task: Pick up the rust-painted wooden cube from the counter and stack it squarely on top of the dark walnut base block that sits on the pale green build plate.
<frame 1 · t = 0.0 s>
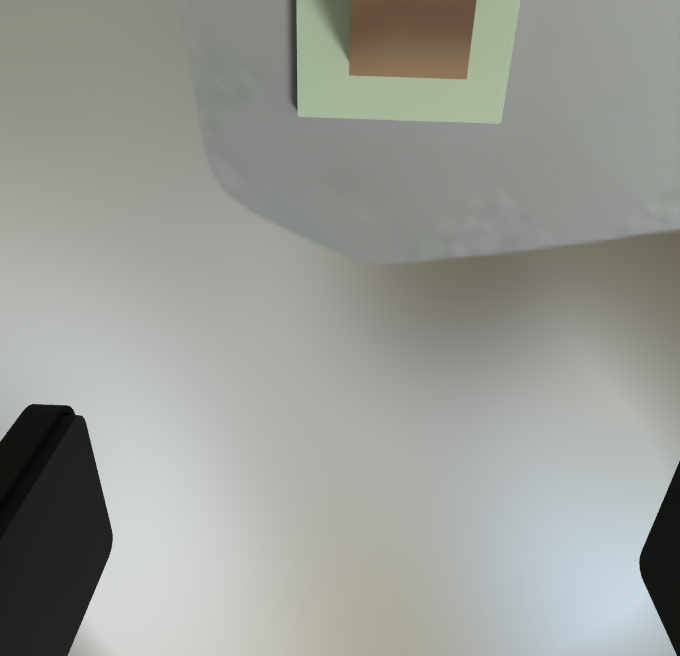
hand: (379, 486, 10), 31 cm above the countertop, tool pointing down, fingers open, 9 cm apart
build plate: (406, 4, 34), on the countertop
base block: (407, 5, 33), point 1 cm above the countertop, touching build plate
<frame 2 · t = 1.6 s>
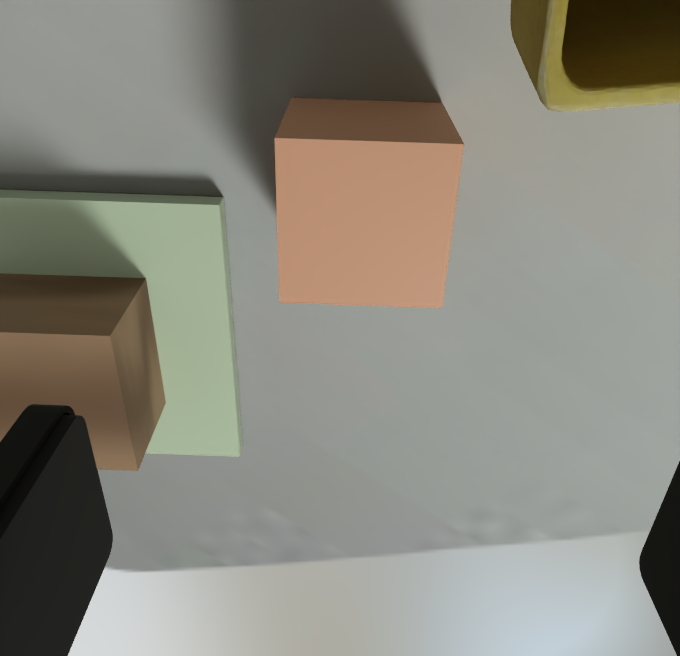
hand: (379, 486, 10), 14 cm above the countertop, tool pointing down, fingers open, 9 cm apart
cube: (363, 173, 22), on the countertop
build plate: (89, 331, 25), on the countertop
base block: (82, 341, 25), point 1 cm above the countertop, touching build plate
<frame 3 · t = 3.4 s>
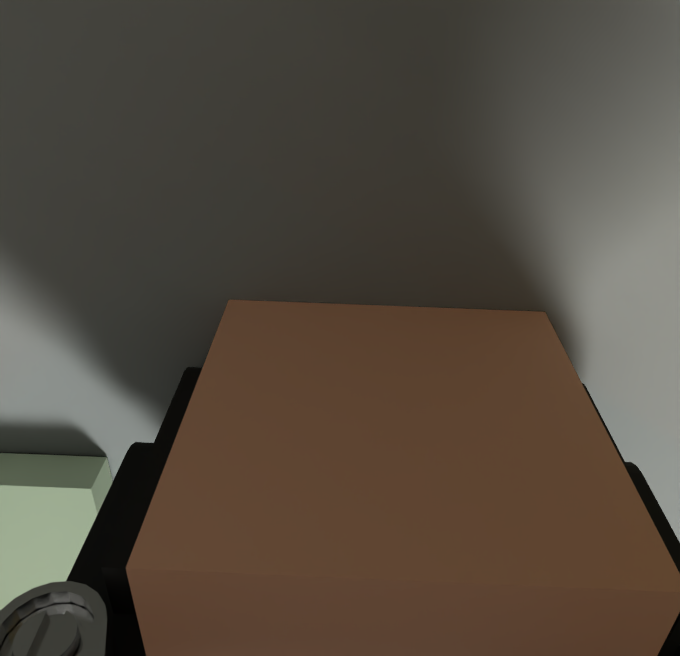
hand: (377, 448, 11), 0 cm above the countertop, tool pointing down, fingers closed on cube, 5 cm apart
cube: (377, 427, 11), on the countertop, touching gripper
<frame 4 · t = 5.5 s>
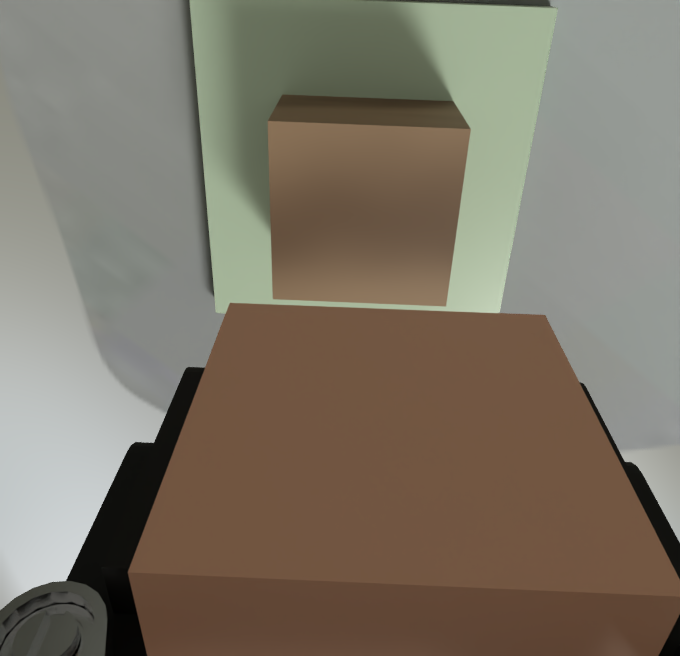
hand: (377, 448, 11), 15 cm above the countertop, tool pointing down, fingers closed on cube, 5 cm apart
cube: (377, 429, 11), point 15 cm above the countertop, touching gripper
build plate: (363, 174, 24), on the countertop
base block: (363, 181, 23), point 1 cm above the countertop, touching build plate
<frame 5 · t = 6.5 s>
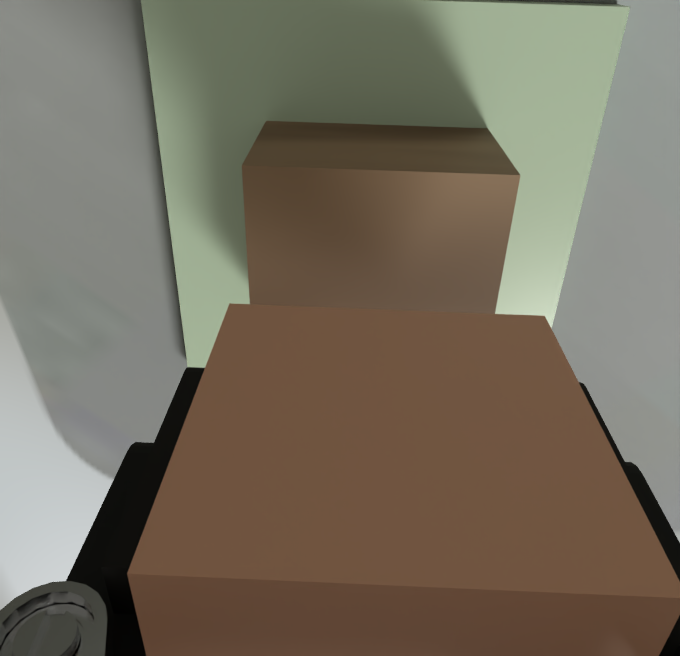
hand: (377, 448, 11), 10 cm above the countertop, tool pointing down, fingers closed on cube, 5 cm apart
cube: (377, 430, 11), point 9 cm above the countertop, touching gripper
build plate: (370, 218, 19), on the countertop
base block: (370, 228, 18), point 1 cm above the countertop, touching build plate
when the fingers open (7 cm above the countertop, at t = 7.5 s): cube drops 1 cm, resting on base block.
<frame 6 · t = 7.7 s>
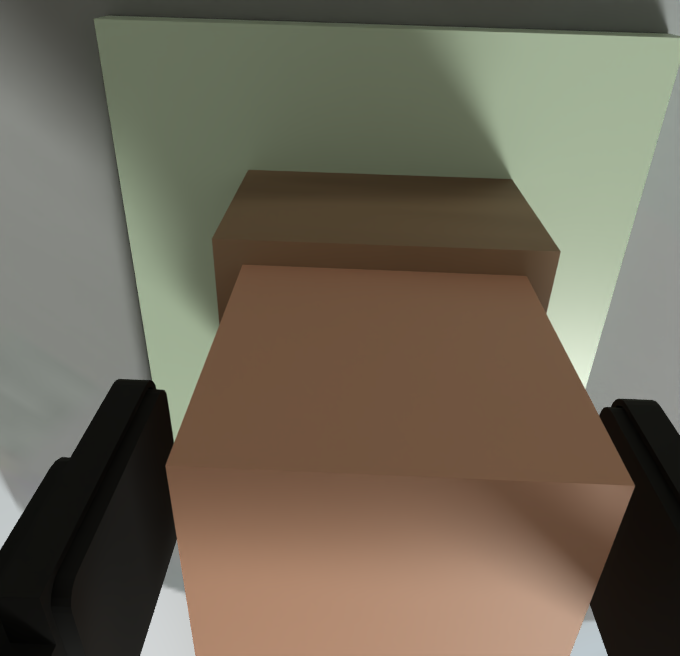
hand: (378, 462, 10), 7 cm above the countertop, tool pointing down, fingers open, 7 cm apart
cube: (375, 384, 12), point 5 cm above the countertop, touching base block
build plate: (372, 277, 16), on the countertop
base block: (372, 291, 16), point 1 cm above the countertop, touching build plate, cube
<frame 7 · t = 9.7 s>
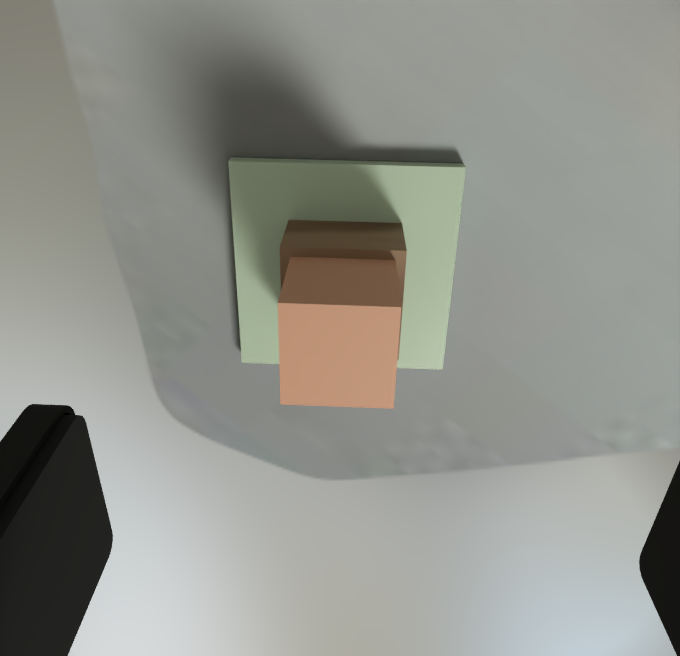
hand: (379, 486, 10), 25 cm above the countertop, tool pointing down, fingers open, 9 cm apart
cube: (341, 305, 30), point 5 cm above the countertop, touching base block
build plate: (344, 268, 35), on the countertop
base block: (344, 273, 34), point 1 cm above the countertop, touching build plate, cube
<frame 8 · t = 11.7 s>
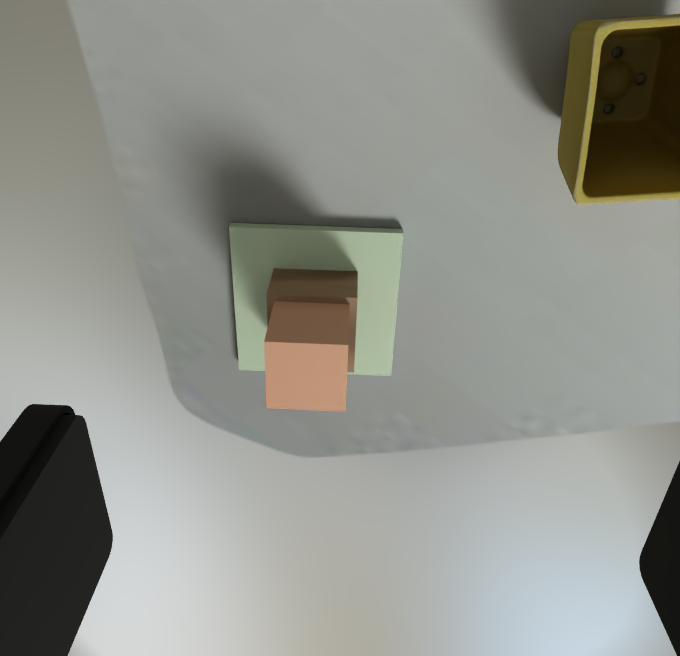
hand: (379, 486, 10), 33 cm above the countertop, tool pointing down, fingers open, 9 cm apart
cube: (311, 334, 42), point 5 cm above the countertop, touching base block
build plate: (316, 301, 46), on the countertop
base block: (315, 306, 45), point 1 cm above the countertop, touching build plate, cube
flower pot: (610, 82, 38), on the countertop
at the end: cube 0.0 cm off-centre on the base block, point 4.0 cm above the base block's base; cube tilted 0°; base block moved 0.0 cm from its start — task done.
